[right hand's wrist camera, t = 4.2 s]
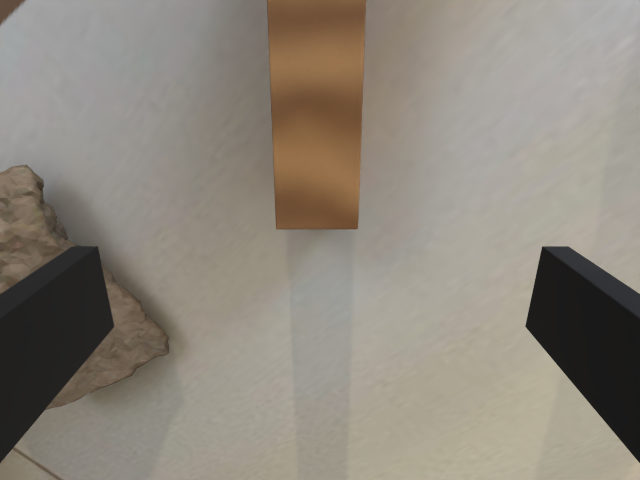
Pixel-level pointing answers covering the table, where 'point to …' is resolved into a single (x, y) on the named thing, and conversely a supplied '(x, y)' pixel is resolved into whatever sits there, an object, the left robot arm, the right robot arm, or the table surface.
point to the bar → (316, 110)
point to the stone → (44, 245)
